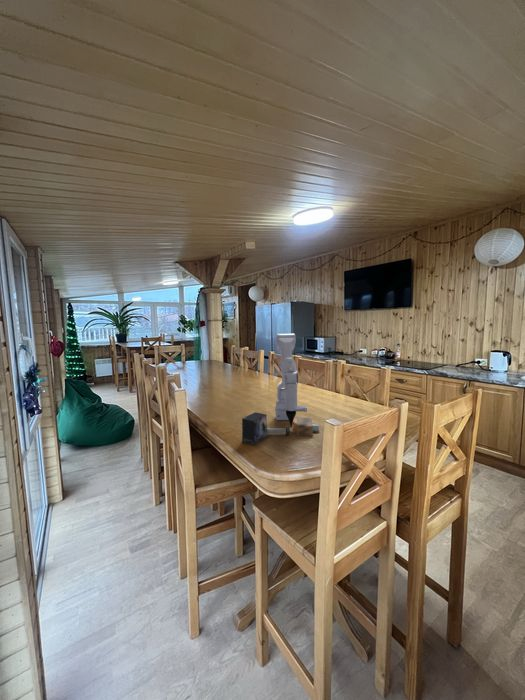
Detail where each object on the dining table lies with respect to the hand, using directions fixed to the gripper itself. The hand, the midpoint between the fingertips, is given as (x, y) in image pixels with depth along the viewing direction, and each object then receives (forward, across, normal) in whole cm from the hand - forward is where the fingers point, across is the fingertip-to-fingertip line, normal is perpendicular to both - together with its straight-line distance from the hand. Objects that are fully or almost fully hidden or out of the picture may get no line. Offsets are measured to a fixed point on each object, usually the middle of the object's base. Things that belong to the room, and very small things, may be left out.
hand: (291, 426), depth 143 cm
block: (+2, +6, 0) cm, 6 cm away
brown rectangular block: (+2, +7, 0) cm, 7 cm away
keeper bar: (+1, -7, -6) cm, 9 cm away
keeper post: (+2, -2, -6) cm, 7 cm away
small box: (+2, -16, -12) cm, 20 cm away
